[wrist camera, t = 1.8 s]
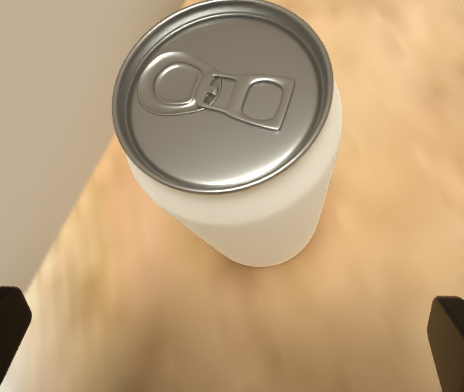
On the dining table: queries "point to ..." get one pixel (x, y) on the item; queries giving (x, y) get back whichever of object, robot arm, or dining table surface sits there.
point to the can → (232, 125)
